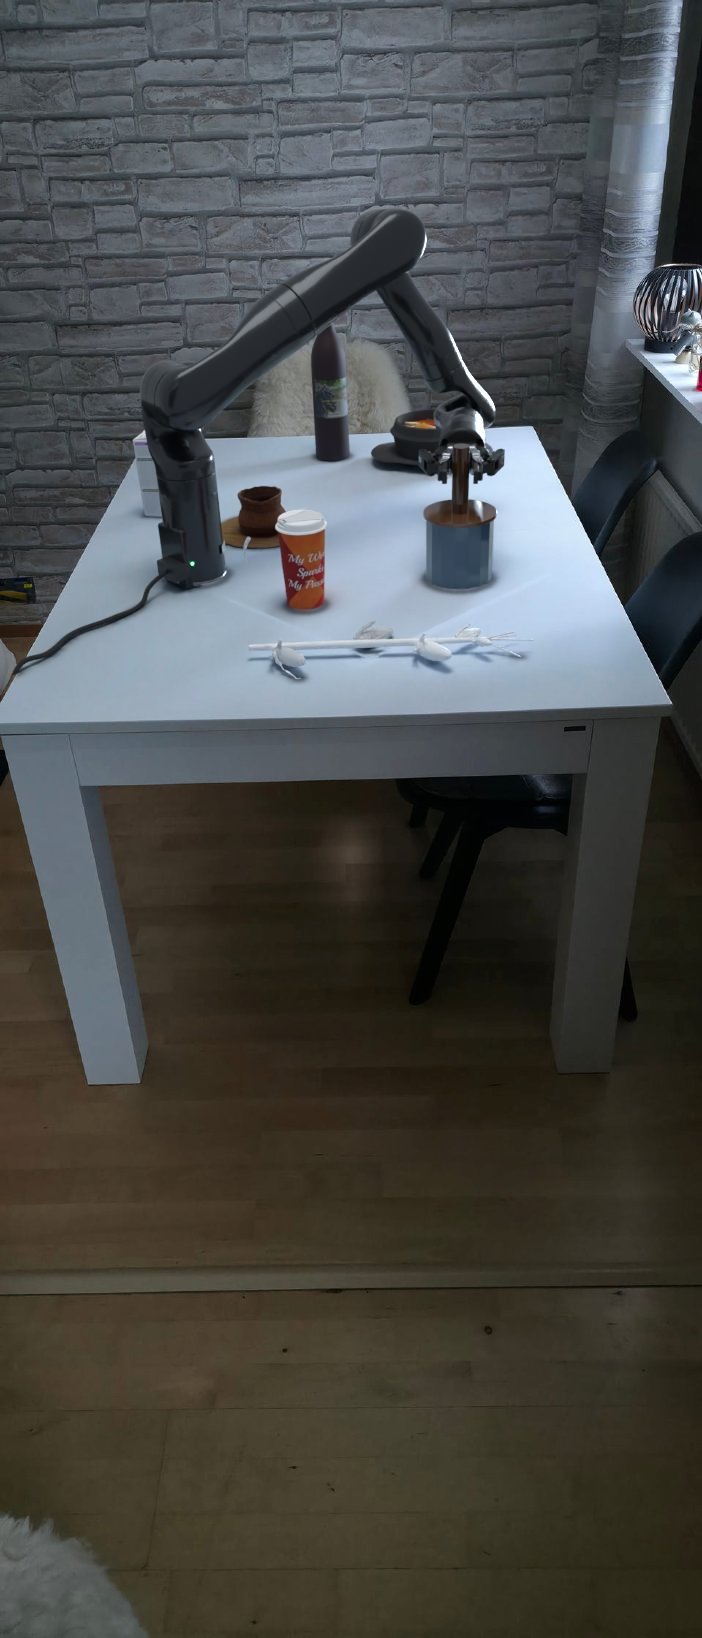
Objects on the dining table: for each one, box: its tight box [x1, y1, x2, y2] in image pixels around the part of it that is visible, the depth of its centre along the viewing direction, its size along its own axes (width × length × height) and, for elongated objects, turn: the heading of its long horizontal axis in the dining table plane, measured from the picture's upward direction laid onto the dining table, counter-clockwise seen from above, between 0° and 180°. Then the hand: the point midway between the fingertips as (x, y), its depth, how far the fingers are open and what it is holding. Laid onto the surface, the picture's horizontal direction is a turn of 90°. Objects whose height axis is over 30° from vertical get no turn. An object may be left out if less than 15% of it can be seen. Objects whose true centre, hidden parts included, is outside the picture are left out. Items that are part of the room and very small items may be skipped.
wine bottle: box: [310, 323, 351, 462], centre depth 227 cm, size 7×7×30 cm
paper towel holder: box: [422, 444, 498, 528], centre depth 171 cm, size 11×11×11 cm
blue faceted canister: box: [425, 519, 495, 590], centre depth 177 cm, size 10×10×10 cm
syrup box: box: [132, 429, 162, 518], centre depth 207 cm, size 6×6×14 cm
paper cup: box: [275, 509, 328, 611], centre depth 169 cm, size 8×8×14 cm
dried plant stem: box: [243, 537, 535, 680], centre depth 154 cm, size 12×19×40 cm
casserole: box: [370, 409, 494, 468], centre depth 228 cm, size 25×19×8 cm
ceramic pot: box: [221, 485, 287, 549], centre depth 199 cm, size 18×18×7 cm
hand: (460, 477), depth 167 cm, fingers open, 4 cm apart
